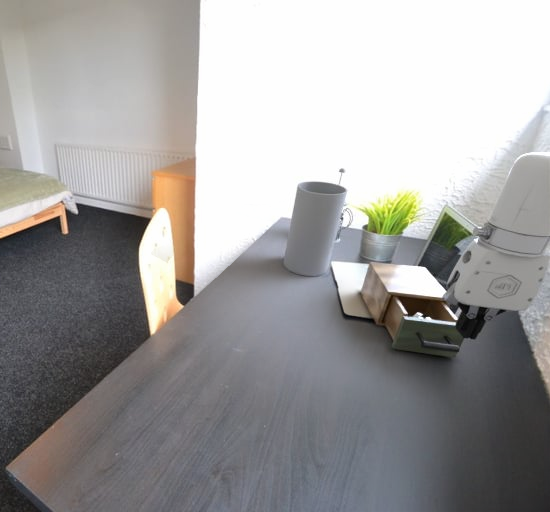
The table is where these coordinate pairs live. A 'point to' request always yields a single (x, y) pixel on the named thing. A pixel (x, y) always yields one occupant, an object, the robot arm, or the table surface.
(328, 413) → the table surface
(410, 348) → the drawer
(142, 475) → the table surface
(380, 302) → the cabinet
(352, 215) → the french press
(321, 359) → the table surface
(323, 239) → the cylinder vase
